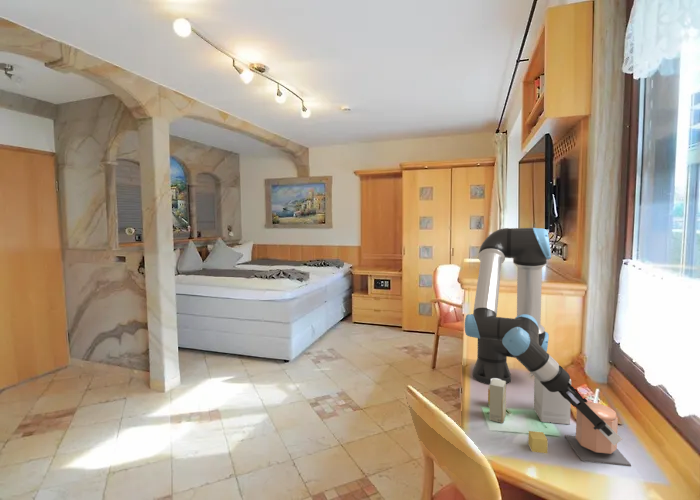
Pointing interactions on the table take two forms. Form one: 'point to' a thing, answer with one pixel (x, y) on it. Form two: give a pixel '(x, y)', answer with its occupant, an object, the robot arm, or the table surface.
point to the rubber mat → (596, 454)
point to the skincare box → (497, 400)
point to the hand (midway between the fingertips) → (608, 431)
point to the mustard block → (537, 442)
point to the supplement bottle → (489, 391)
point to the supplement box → (550, 405)
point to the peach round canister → (594, 437)
